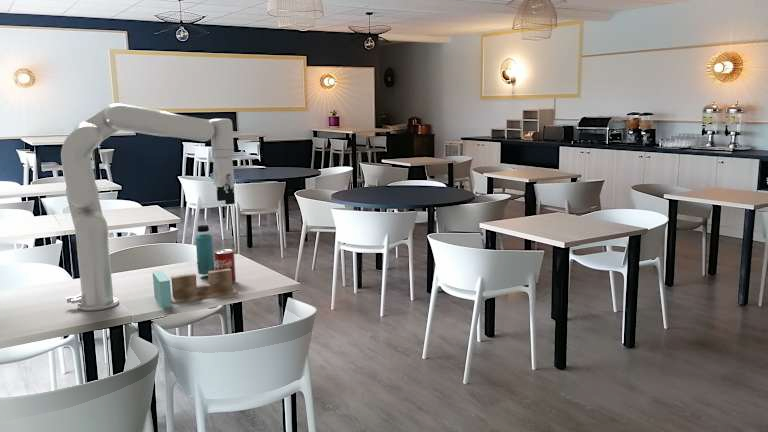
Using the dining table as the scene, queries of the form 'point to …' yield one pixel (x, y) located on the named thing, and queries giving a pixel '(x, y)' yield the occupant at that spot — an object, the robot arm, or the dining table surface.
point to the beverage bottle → (204, 251)
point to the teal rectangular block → (162, 289)
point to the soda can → (225, 261)
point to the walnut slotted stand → (202, 286)
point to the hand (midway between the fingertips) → (225, 202)
